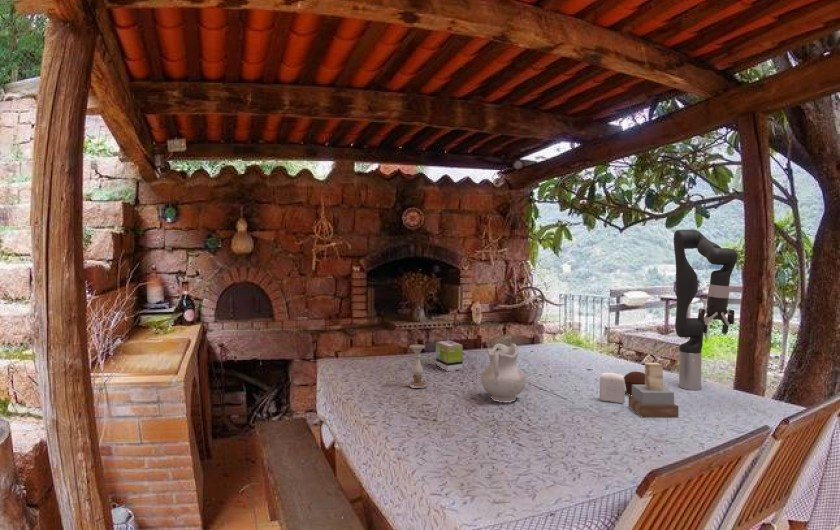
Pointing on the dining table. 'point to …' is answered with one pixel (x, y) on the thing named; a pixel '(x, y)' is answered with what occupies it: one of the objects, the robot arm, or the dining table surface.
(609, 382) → the photo printer
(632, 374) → the muffin
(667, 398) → the slate top block
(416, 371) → the candle holder
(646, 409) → the walnut base block
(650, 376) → the birch pillar block
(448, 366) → the tea box
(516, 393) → the ceramic pitcher
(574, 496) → the dining table surface
